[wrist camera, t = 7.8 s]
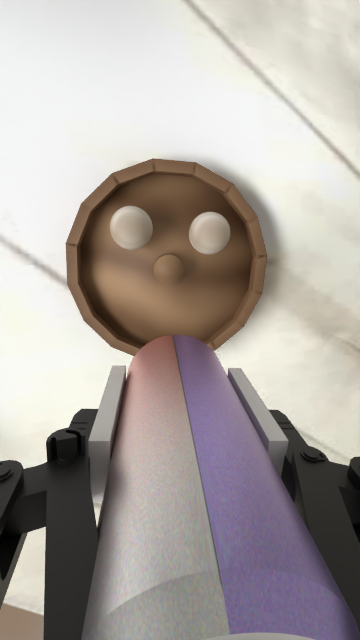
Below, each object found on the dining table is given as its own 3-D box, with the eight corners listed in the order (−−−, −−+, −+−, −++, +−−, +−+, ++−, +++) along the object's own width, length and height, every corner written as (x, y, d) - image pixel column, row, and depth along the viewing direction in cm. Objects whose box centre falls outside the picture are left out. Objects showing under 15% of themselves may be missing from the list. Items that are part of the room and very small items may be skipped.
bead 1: (112, 206, 30) (107, 202, 26) (153, 209, 30) (153, 205, 26) (112, 247, 31) (107, 249, 27) (152, 250, 31) (151, 252, 27)
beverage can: (220, 328, 19) (438, 630, 4) (219, 412, 20) (378, 834, 6) (124, 334, 18) (13, 689, 4) (131, 418, 20) (73, 891, 6)
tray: (69, 157, 29) (60, 148, 26) (269, 175, 31) (280, 168, 28) (75, 350, 34) (68, 361, 31) (245, 355, 36) (253, 365, 33)
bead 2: (188, 211, 30) (193, 208, 27) (226, 214, 31) (237, 211, 27) (185, 252, 31) (189, 254, 28) (222, 254, 32) (232, 257, 28)
